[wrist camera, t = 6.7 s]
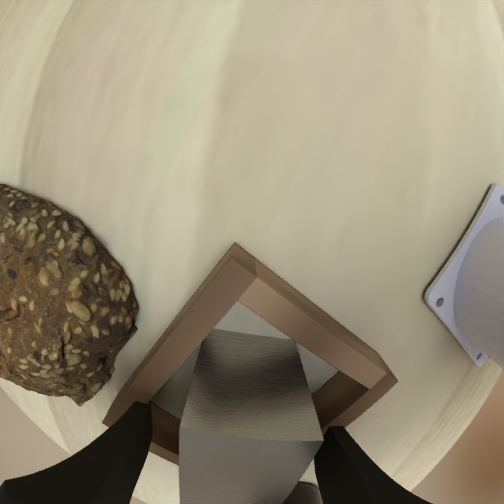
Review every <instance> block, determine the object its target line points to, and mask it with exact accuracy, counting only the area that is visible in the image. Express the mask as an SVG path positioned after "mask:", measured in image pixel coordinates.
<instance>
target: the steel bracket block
mask: <svg viewBox="0 0 504 504" xmlns="http://www.w3.org/2000/svg"><path fill="white" fill-rule="evenodd" d="M323 441H324V439H323V436H322V432H321V429H320V425H319V422H318V418H317V414H316V411H315V408H314V404H313V401H312V397H311V394H310V390H309V387H308V383H307V380H306V377H305V373H304V370H303V366H302V363H301V360H300V356H299V353H298V350H297V346H296V343H295V341H294V340H290V339H281V338H273V337H265V336H258V335H251V334H244V333H237V332H231V331H225V330H219V329H212V330H211V331H210V333H209V334H208V335H207V336H206V337H205V338H204V339H203V341H202V344H201V348H200V351H199V355H198V359H197V362H196V366H195V370H194V374H193V377H192V381H191V385H190V389H189V393H188V396H187V400H186V404H185V408H184V412H183V416H182V420H181V424H180V428H179V488H180V504H283V502H284V501H285V500H286V498H287V497H288V495H289V494H290V493H291V491H292V490H293V488H294V487H295V486H296V484H297V483H298V481H299V480H300V478H301V477H302V475H303V474H304V472H305V471H306V469H307V467H308V466H309V464H310V463H311V461H312V460H313V458H314V456H315V455H316V453H317V451H318V450H319V448H320V446H321V445H322V443H323Z"/></svg>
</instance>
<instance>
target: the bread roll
mask: <svg viewBox="0 0 504 504" xmlns="http://www.w3.org/2000/svg"><path fill="white" fill-rule="evenodd" d="M136 314H137V305H136V301H135V297H134V293H133V289H132V287H131V285H130V283H129V280H128V279H127V278H126V277H125V276H124V274H123V271H122V269H121V267H119V266H118V265H117V264H116V263H115V262H114V261H113V259H112V258H111V257H110V256H109V255H108V254H107V253H106V251H105V250H104V249H103V248H102V247H101V246H100V244H99V243H98V242H97V241H96V240H95V239H93V238H92V237H91V236H89V235H88V233H87V230H86V229H85V228H84V227H83V225H82V224H81V222H80V221H79V220H77V219H76V218H74V217H73V216H70V215H68V214H66V213H65V212H64V211H62V210H59V209H58V208H56V207H55V206H53V205H52V204H51V203H50V202H48V201H45V200H43V199H40V198H37V197H35V196H33V195H31V194H24V193H22V192H21V191H18V190H15V189H13V188H12V187H11V186H9V187H8V186H6V185H5V184H0V377H1V378H4V379H6V380H9V381H12V382H13V383H15V384H16V385H19V386H21V387H23V388H24V389H26V390H29V391H35V392H37V393H40V394H44V395H48V396H55V397H59V396H64V395H65V396H68V397H69V398H72V399H73V400H74V401H75V402H76V404H77V405H78V406H82V405H83V404H84V403H85V402H86V401H88V400H90V399H92V398H93V396H94V395H95V394H96V393H97V392H98V391H99V390H100V389H101V388H102V387H103V385H104V384H105V383H106V382H107V381H108V380H109V379H110V378H111V374H112V373H113V371H114V370H115V369H114V367H113V364H114V361H115V357H116V355H117V353H118V352H119V351H120V350H121V349H122V347H123V346H124V345H125V343H126V342H127V341H128V340H129V339H130V338H131V337H132V336H133V335H134V333H135V332H136V330H137V329H138V328H137V327H136V326H135V325H134V324H135V319H134V315H136Z"/></svg>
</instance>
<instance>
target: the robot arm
mask: <svg viewBox="0 0 504 504" xmlns="http://www.w3.org/2000/svg"><path fill="white" fill-rule="evenodd" d="M424 297H425V302H426V303H427V304H428V305H429V307H430V308H431V309H432V310H433V311H434V312H435V314H436V315H437V316H438V317H439V318H440V320H441V321H442V322H443V323H444V324H445V326H446V327H447V328H448V329H449V331H450V332H451V333H452V334H453V336H454V337H455V338H456V339H457V341H458V342H459V343H460V345H461V346H462V347H463V348H464V350H465V351H466V352H467V354H468V355H469V356H470V358H471V359H472V361H473V362H474V363H475V365H476V366H478V367H481V366H483V365H484V363H485V362H486V361H487V360H488V358H491V359H492V360H493V361H494V362H495V363H496V364H498V365H499V366H500V367H501V368H502V369H503V370H504V190H503V188H502V186H501V185H500V184H493V185H492V186H491V188H490V190H489V192H488V194H487V196H486V198H485V200H484V202H483V204H482V206H481V208H480V209H479V211H478V213H477V215H476V217H475V218H474V220H473V222H472V224H471V225H470V227H469V229H468V230H467V232H466V234H465V235H464V237H463V238H462V240H461V242H460V243H459V245H458V246H457V248H456V249H455V251H454V253H453V254H452V256H451V257H450V259H449V260H448V261H447V263H446V264H445V266H444V267H443V269H442V270H441V271H440V273H439V274H438V276H437V277H436V278H435V280H434V281H433V282H432V284H431V285H430V286H429V288H428V289H427V291H426V293H425V296H424ZM438 299H439V301H438V303H437V304H436V302H437V300H438ZM152 436H153V429H152V414H151V405H150V404H146V403H143V402H139V401H135V402H134V403H133V404H132V405H131V406H130V407H129V408H128V409H127V411H126V412H125V413H124V414H123V415H122V416H121V417H120V418H119V419H118V420H117V421H116V422H115V423H114V424H113V425H111V426H110V427H109V428H108V429H107V430H106V431H105V432H104V433H103V434H101V435H100V436H99V437H98V438H96V439H95V440H94V441H93V442H91V443H90V444H89V445H87V446H86V447H85V448H83V449H82V450H80V451H79V452H77V453H76V454H74V455H72V456H71V457H69V458H67V459H65V460H64V461H62V462H60V463H58V464H56V465H54V466H51V467H49V468H47V469H44V470H41V471H39V472H36V473H33V474H30V475H26V476H22V477H18V478H13V479H9V480H5V481H4V482H3V484H2V485H1V486H0V504H129V503H130V500H131V497H132V494H133V491H134V488H135V486H136V483H137V481H138V478H139V476H140V473H141V471H142V468H143V466H144V463H145V460H146V458H147V455H148V452H149V448H150V444H151V440H152ZM323 439H324V441H323V443H322V445H321V446H320V448H319V450H318V451H317V453H316V455H315V456H314V465H315V474H316V478H317V482H318V486H319V490H320V494H321V499H322V503H323V504H431V503H430V502H427V501H425V500H423V499H421V498H419V497H418V496H416V495H414V494H412V493H411V492H409V491H408V490H406V489H405V488H403V487H402V486H401V485H399V484H398V483H397V482H395V481H394V480H393V479H391V478H390V477H389V476H388V475H387V474H386V473H385V472H384V471H382V470H381V469H380V468H379V467H378V466H377V465H376V464H375V463H374V462H373V461H372V460H371V459H370V458H369V456H368V455H367V454H366V453H365V452H364V451H363V450H362V449H361V447H360V446H359V445H358V444H357V443H356V442H355V440H354V439H353V438H352V437H351V436H350V434H349V433H348V432H347V431H346V430H345V428H344V427H343V426H329V427H328V429H327V430H326V432H325V434H324V436H323Z"/></svg>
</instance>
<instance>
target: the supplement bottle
mask: <svg viewBox="0 0 504 504" xmlns="http://www.w3.org/2000/svg"><path fill="white" fill-rule="evenodd" d="M283 504H323V503H322V499H321V494H320V491H319V490H318V489H317V488H316V487H314V486H312V485H309V484H305V483H297V484H296V486H295V487H294V488H293V490H292V491H291V493H290V494H289V495H288V497H287V498H286V500H285V501H284V502H283Z"/></svg>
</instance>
